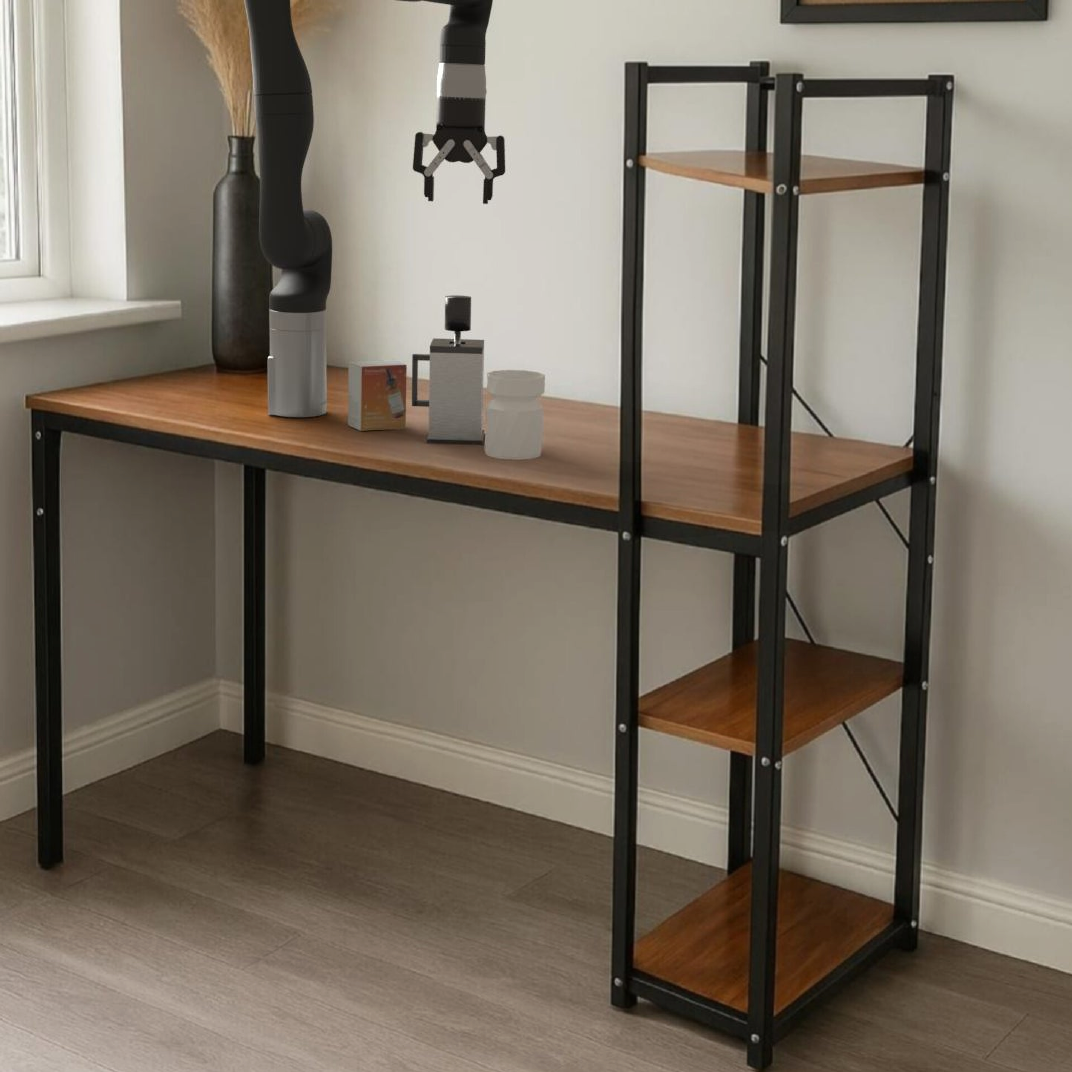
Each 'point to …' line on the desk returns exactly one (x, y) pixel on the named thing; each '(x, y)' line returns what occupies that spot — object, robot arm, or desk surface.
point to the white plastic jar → (514, 414)
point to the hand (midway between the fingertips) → (458, 202)
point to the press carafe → (453, 391)
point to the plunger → (457, 315)
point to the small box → (377, 395)
